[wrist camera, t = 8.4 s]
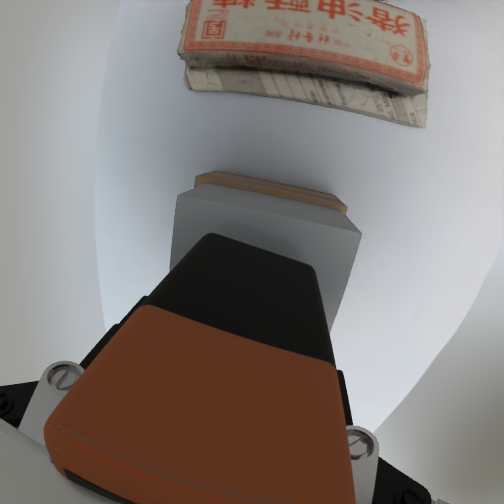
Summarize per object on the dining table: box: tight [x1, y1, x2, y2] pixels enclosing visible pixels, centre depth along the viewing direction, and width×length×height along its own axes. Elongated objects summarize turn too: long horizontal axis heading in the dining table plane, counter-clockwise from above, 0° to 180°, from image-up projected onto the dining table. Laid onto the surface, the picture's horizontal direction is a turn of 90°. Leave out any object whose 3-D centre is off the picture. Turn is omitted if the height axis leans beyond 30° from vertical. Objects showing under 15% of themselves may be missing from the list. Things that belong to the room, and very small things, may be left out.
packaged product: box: [177, 0, 431, 128], centre depth 16 cm, size 18×5×10 cm
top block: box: [169, 183, 362, 334], centre depth 16 cm, size 8×8×5 cm
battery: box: [44, 233, 356, 504], centre depth 7 cm, size 4×7×10 cm, turn 163°
